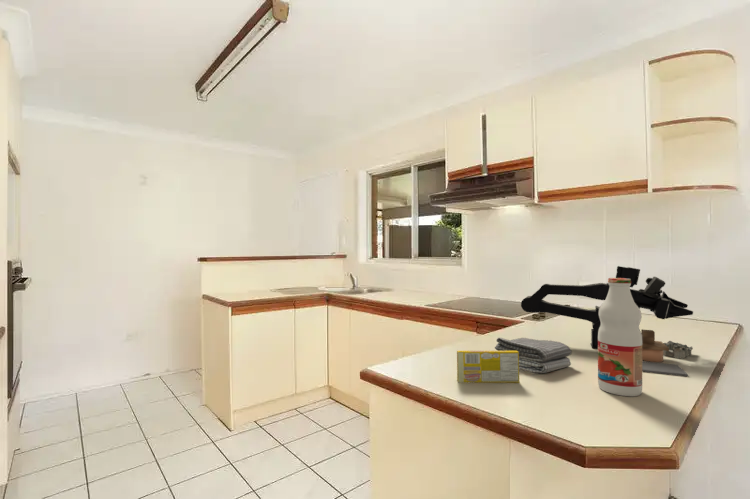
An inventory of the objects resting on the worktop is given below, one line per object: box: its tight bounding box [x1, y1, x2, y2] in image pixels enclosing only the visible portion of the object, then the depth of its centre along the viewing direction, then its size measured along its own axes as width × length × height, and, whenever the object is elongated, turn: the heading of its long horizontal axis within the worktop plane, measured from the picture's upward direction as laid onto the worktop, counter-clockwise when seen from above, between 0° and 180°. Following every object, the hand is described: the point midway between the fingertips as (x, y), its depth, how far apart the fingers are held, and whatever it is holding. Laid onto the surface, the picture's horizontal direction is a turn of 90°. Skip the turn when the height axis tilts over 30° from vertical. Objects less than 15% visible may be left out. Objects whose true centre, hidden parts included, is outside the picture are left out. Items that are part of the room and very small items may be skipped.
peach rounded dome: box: [642, 349, 664, 363], centre depth 125 cm, size 8×8×4 cm
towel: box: [494, 337, 573, 374], centre depth 119 cm, size 15×18×8 cm
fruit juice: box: [597, 277, 643, 397], centre depth 97 cm, size 9×9×28 cm
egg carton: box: [663, 340, 694, 359], centre depth 130 cm, size 11×8×4 cm
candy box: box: [456, 350, 520, 384], centre depth 103 cm, size 16×2×8 cm, turn 89°
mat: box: [642, 360, 689, 377], centre depth 114 cm, size 11×10×1 cm
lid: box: [640, 328, 669, 351], centre depth 125 cm, size 9×9×5 cm
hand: (690, 309), depth 127 cm, fingers open, 9 cm apart
